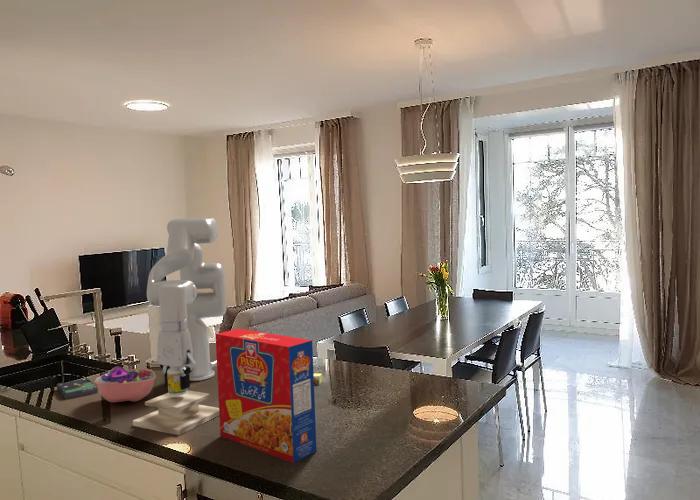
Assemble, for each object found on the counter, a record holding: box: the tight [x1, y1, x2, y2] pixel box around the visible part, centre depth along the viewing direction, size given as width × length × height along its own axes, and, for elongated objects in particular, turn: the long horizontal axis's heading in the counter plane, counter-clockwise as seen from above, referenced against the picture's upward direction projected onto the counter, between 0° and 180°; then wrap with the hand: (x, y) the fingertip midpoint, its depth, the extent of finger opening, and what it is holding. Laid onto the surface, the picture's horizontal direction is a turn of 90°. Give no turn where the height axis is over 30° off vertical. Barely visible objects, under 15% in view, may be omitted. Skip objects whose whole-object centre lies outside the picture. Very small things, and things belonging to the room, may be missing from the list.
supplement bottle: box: [167, 366, 188, 396], centre depth 162 cm, size 5×5×10 cm
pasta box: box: [214, 328, 318, 464], centre depth 142 cm, size 28×8×28 cm, turn 50°
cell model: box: [94, 365, 157, 403], centre depth 181 cm, size 17×20×11 cm
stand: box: [132, 389, 219, 436], centre depth 162 cm, size 18×18×6 cm
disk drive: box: [56, 377, 99, 400], centre depth 194 cm, size 10×3×15 cm
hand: (177, 386), depth 162 cm, fingers closed on supplement bottle, 5 cm apart
